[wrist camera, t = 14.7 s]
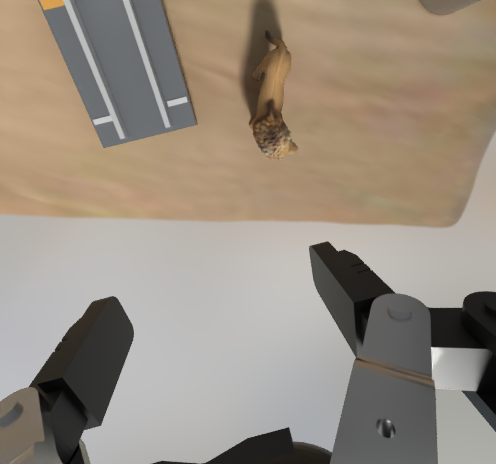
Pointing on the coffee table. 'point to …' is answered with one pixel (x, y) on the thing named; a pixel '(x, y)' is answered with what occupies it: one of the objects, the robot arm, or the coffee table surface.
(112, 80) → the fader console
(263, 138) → the lion figurine
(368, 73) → the coffee table surface
